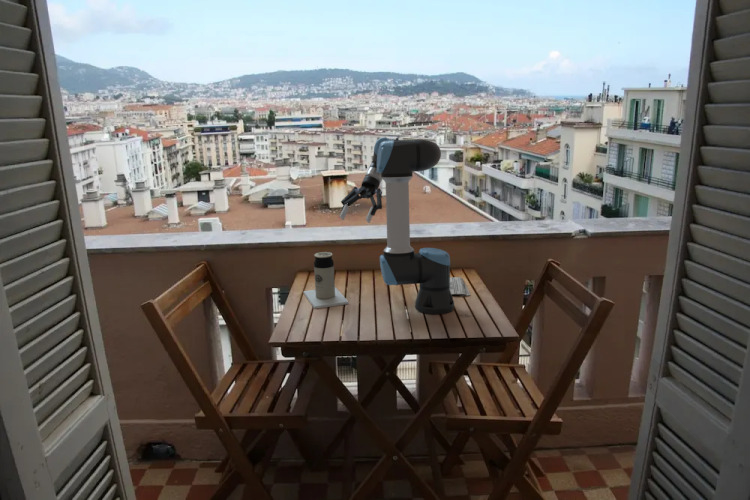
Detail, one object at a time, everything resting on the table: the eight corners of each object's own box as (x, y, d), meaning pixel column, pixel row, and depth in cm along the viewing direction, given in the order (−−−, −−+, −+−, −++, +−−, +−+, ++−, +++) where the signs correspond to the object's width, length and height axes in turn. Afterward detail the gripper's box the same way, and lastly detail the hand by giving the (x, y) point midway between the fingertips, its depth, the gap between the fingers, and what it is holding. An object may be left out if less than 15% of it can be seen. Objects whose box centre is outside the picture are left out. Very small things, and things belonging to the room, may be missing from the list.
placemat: (348, 304, 222) (348, 301, 222) (314, 308, 218) (314, 306, 218) (335, 289, 241) (335, 287, 240) (303, 293, 236) (303, 291, 236)
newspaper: (470, 298, 228) (470, 292, 227) (440, 300, 229) (440, 295, 229) (466, 280, 250) (466, 275, 249) (439, 283, 251) (439, 277, 250)
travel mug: (327, 291, 235) (325, 250, 230) (338, 296, 229) (337, 254, 224) (312, 296, 230) (309, 254, 225) (322, 300, 224) (320, 258, 219)
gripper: (399, 187, 242) (382, 227, 234) (353, 183, 256) (334, 221, 247) (393, 176, 237) (375, 217, 228) (345, 173, 250) (327, 212, 242)
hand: (354, 219), depth 238 cm, fingers open, 13 cm apart
